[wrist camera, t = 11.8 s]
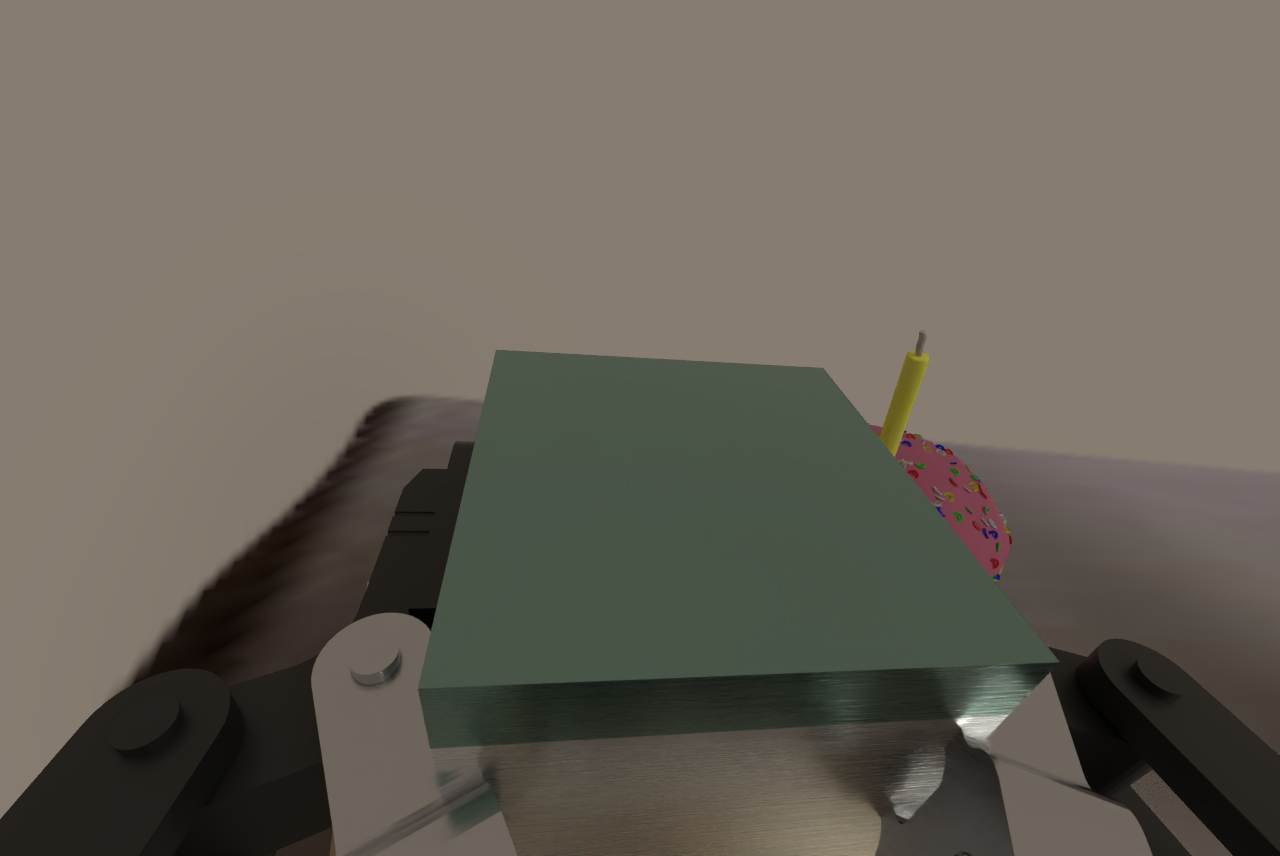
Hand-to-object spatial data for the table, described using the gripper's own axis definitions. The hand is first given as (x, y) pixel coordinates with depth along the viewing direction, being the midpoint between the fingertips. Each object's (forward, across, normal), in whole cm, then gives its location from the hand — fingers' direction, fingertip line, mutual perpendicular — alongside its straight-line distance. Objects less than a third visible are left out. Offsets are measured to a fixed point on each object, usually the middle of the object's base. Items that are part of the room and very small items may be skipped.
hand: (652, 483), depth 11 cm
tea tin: (-2, 0, +6) cm, 7 cm away
